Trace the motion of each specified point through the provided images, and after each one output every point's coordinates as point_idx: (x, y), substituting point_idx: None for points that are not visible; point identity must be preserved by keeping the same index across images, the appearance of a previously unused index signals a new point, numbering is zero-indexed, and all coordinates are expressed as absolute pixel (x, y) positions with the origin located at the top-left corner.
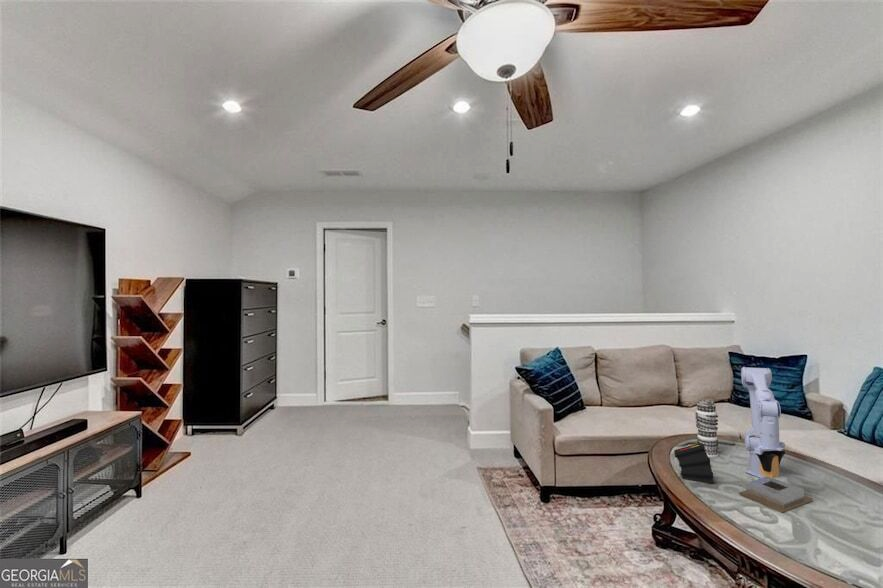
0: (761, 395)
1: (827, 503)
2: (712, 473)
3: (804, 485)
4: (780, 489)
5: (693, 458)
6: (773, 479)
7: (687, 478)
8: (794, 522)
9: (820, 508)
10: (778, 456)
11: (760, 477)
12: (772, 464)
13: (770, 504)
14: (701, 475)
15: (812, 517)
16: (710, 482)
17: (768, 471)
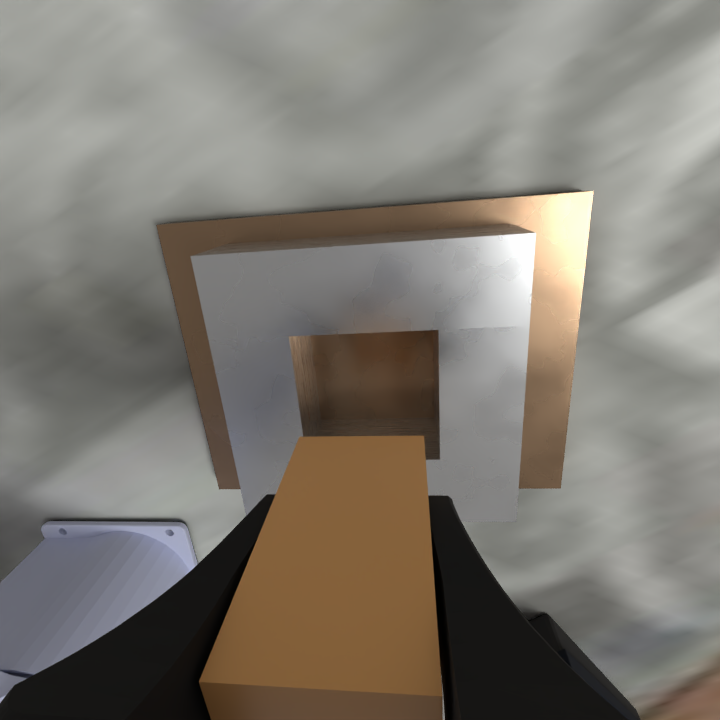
0: None
1: (91, 154)
2: None
3: (11, 388)
4: (306, 377)
5: None
6: (257, 470)
7: (624, 699)
8: (682, 31)
9: (220, 119)
10: (197, 665)
11: (192, 548)
12: (412, 563)
13: (568, 290)
14: (605, 695)
15: (439, 34)
16: (558, 627)
17: (453, 507)
